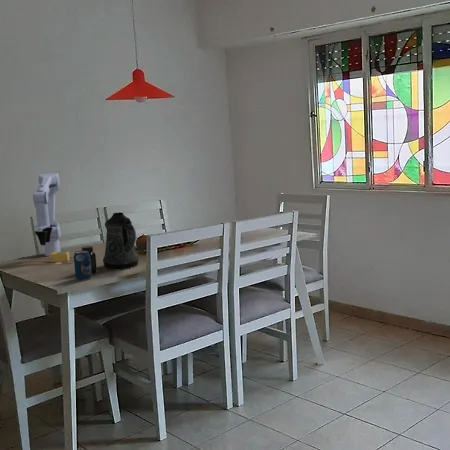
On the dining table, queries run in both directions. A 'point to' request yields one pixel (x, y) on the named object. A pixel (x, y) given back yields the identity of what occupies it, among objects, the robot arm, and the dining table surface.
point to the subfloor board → (46, 262)
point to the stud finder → (60, 257)
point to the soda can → (82, 265)
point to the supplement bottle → (91, 258)
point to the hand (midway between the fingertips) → (45, 243)
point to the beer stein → (120, 243)
